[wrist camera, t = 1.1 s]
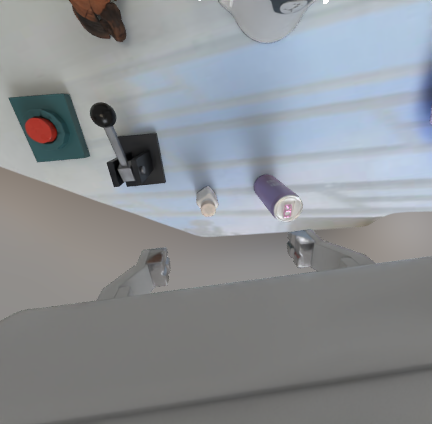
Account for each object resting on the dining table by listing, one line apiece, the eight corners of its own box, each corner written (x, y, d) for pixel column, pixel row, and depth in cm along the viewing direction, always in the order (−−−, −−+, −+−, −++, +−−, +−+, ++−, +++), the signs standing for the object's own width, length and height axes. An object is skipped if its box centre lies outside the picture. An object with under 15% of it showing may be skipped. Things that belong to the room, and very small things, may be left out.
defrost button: (27, 118, 38) (20, 118, 37) (51, 116, 39) (45, 116, 37) (38, 143, 40) (31, 144, 39) (60, 141, 41) (55, 142, 39)
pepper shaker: (208, 184, 51) (210, 197, 42) (217, 196, 52) (221, 211, 44) (195, 193, 51) (195, 208, 43) (205, 205, 53) (206, 222, 44)
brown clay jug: (62, 6, 35) (35, -57, 28) (109, -12, 38) (97, -75, 30) (109, 66, 37) (97, 23, 29) (152, 45, 39) (151, 0, 32)
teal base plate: (17, 98, 40) (-1, 96, 36) (69, 94, 40) (57, 92, 37) (44, 160, 45) (30, 164, 42) (90, 156, 46) (81, 159, 42)
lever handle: (89, 99, 30) (81, 108, 28) (113, 97, 30) (107, 106, 28) (123, 172, 39) (119, 184, 37) (140, 171, 40) (138, 182, 37)
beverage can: (253, 197, 53) (272, 224, 39) (253, 174, 50) (273, 195, 37) (275, 195, 53) (302, 221, 40) (276, 172, 51) (305, 192, 37)
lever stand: (115, 136, 44) (87, 143, 33) (156, 133, 45) (143, 138, 34) (128, 185, 49) (108, 205, 38) (165, 181, 49) (156, 200, 38)
